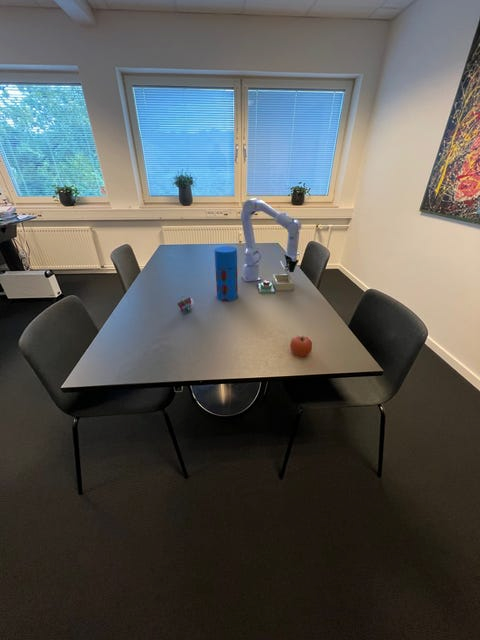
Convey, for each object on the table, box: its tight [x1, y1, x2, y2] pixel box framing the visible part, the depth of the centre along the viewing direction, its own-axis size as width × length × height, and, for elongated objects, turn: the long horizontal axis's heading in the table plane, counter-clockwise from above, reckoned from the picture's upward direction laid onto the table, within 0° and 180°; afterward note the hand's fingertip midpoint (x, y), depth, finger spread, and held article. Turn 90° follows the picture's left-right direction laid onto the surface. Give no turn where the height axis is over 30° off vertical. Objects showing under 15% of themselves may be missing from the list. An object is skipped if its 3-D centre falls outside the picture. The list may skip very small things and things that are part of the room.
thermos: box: [214, 245, 239, 302], centre depth 129 cm, size 11×11×25 cm
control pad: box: [257, 281, 276, 294], centre depth 143 cm, size 8×11×3 cm
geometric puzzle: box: [177, 296, 195, 312], centre depth 121 cm, size 7×7×8 cm
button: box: [262, 279, 270, 285], centre depth 142 cm, size 3×3×2 cm
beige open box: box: [272, 273, 295, 291], centre depth 146 cm, size 9×13×4 cm
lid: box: [279, 260, 295, 284], centre depth 142 cm, size 10×13×4 cm
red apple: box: [289, 335, 313, 357], centre depth 93 cm, size 8×8×7 cm
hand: (290, 269), depth 142 cm, fingers open, 6 cm apart
